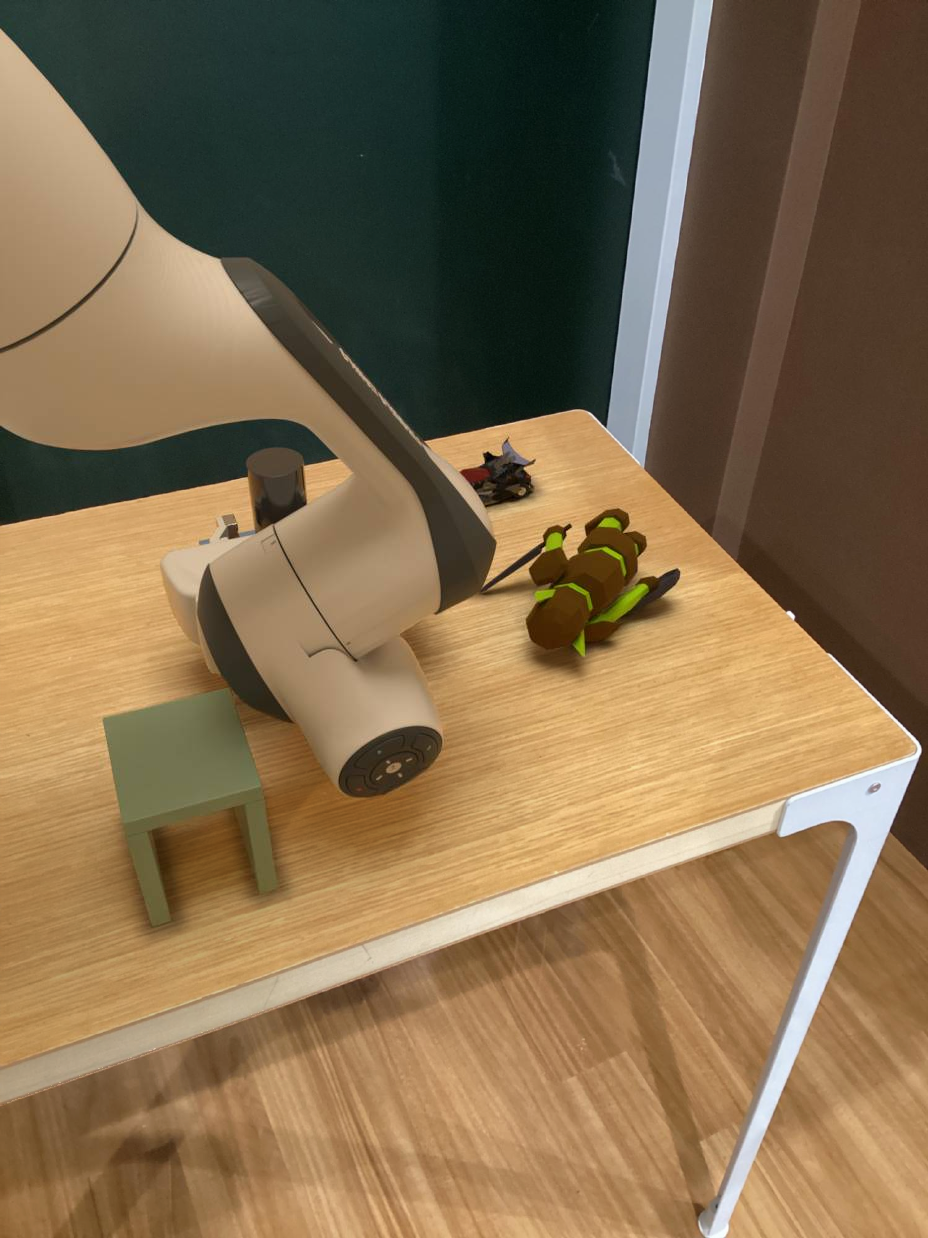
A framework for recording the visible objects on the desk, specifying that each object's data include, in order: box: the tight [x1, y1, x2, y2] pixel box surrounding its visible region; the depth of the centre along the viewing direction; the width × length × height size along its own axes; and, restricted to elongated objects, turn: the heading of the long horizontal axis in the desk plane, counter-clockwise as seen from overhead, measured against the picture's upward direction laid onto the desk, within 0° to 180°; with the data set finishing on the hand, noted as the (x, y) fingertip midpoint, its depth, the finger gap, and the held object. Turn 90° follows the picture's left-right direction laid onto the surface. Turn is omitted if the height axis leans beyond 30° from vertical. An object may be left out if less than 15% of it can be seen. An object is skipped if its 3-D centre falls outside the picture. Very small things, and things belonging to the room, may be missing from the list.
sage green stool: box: [102, 687, 279, 928], centre depth 68 cm, size 8×9×10 cm
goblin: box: [479, 507, 681, 658], centre depth 89 cm, size 10×14×15 cm
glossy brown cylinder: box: [245, 446, 308, 534], centre depth 86 cm, size 4×4×10 cm
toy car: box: [459, 436, 537, 506], centre depth 103 cm, size 6×12×4 cm, turn 119°
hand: (276, 512), depth 86 cm, fingers open, 7 cm apart
